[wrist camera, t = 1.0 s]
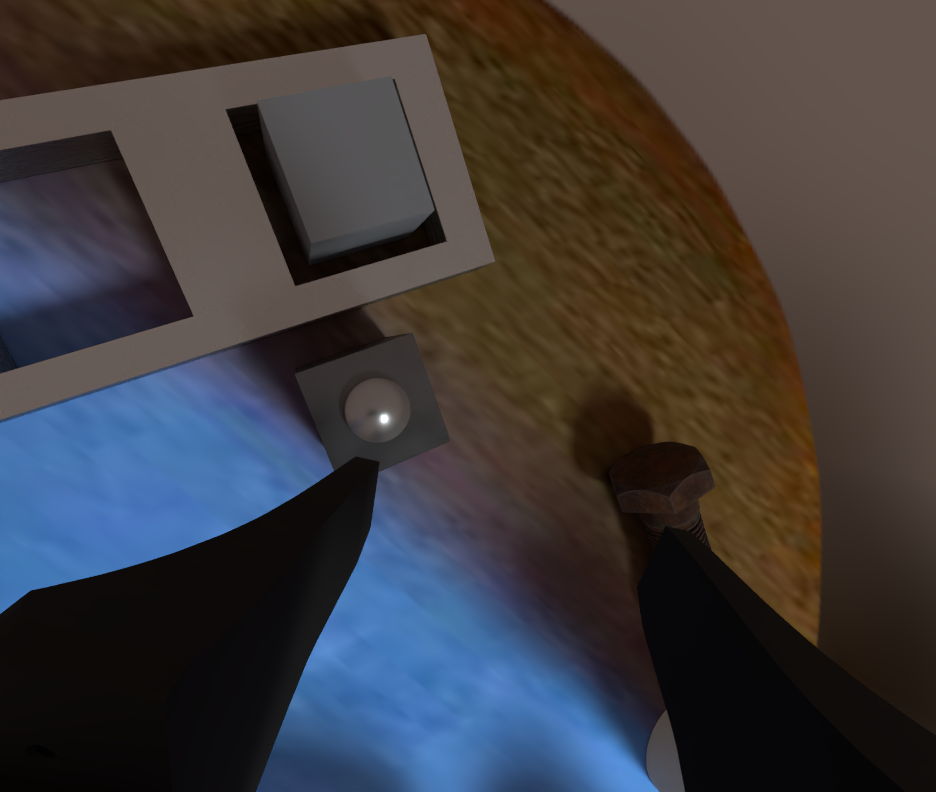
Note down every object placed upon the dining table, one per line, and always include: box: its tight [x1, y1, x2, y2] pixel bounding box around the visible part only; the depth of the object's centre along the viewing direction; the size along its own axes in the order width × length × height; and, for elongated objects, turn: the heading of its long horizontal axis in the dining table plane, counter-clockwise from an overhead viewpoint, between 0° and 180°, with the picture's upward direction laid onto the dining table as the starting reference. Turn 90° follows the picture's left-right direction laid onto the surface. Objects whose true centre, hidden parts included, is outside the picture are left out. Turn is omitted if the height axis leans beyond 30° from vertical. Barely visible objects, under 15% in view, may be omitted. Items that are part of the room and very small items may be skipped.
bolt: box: [608, 442, 715, 552], centre depth 29 cm, size 6×5×15 cm
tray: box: [0, 34, 495, 423], centre depth 19 cm, size 22×10×2 cm, turn 109°
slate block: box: [257, 76, 435, 266], centre depth 20 cm, size 5×5×5 cm
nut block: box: [295, 333, 450, 472], centre depth 20 cm, size 4×4×6 cm
